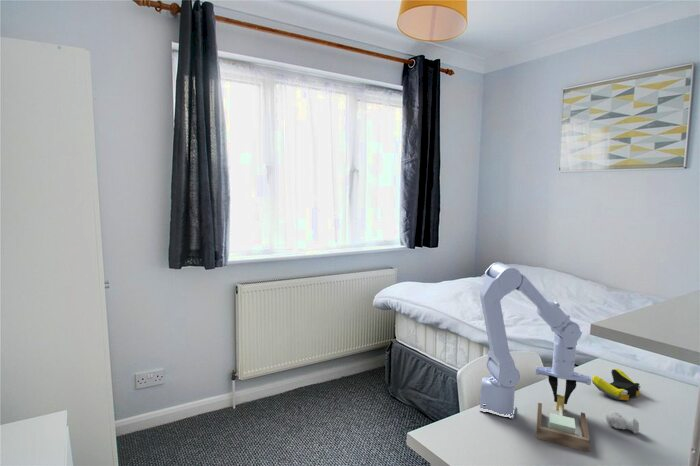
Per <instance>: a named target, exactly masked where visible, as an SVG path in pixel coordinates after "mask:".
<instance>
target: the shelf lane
mask: <svg viewBox="0 0 700 466" xmlns="http://www.w3.org/2000/svg"><path fill="white" fill-rule="evenodd" d="M542 409H543V403H541V402H537V414H536V415H537V417H536V433H535V434H536V435H535V438H536V439H539V440H541V439H542V441H545V442H549V443H552V444H553V443H554V444H557V445H561V446H565V447H568V448H572V449H576V450H580V451H583V452H584V451H585V452H590V451H589V450H590V436H589V429H588V424H587V418H586V413H585V412H580V420H579V423H580V430H581V436H580V435H576V434H575V435H573V434H569V433H565V432H561V431H557V430H553V429H549V427H546V426H542V415H543V410H542Z"/></svg>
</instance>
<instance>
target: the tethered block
mask: <svg viewBox="0 0 700 466" xmlns="http://www.w3.org/2000/svg"><path fill="white" fill-rule="evenodd" d="M564 401H565V395H563V394H560V393H559V394H558V393H557V402H555V408H556V411H558V414H555V413H552V412H550V413H549V416H548V417H549V419H548V428H549V429H553V430H557V431H561V432H565V433H569V434H573V435H576V420H575V418H574V417H569V416H564V415H563V412H565V404H564Z"/></svg>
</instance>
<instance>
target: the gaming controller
mask: <svg viewBox="0 0 700 466" xmlns="http://www.w3.org/2000/svg"><path fill="white" fill-rule="evenodd" d="M611 377H612V381H613V382H611V383H609V382H607V381H606V380H604V379H603V378H602V377H600V376H598V375H592V377H591V383H592V384H593V385H594V386H595V387H596V388H597V390H599V391H600V392H602V393H603V394H606V395H608V396H610V397H611V399H614V400H616V401H629V400H631V399H634V398H636V397H639V396H640V389H641V387H642V384H640V383H638V382H634V381H633V380H632V379H631V378H630V377H629V376H628V375H627V374H626V373H625V372H624V371H622V370H621V369H619V368H612V369H611Z"/></svg>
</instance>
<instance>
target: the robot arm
mask: <svg viewBox="0 0 700 466" xmlns="http://www.w3.org/2000/svg"><path fill="white" fill-rule="evenodd" d="M515 290H516V291H518V292H521V293H522V294H523V296H525V297H526V298H527V299H528V300H529V301H530V302H531V303H532V304H534V306H536V314H537V315H538V316H540V318H541V319H542V320H543V321H544V322H545V323H546V324H547V325H548V326H549V327H550V330H551V332H553V333H554V338H553V339H554V340H553V350H552V351H553V354H552V365H551V367H550V366H549V367H547V366H537V365H536V366H535V375H536V376H540V375H541V376H546V377H548V383H549V385H550V387H551V391H552V395H553V402H555V403H556V402H557V394H558V386H559V385H558V384H559V382H558V381H559V379H560V380H565V390H564V396H565V401H564V405H567V404H568V401H569V399H570V397H571V394H572V393H573V392H574V391H575V389H576V388H577V383H583V384H586V385H587V386H591V385H592V376H589V375H585V374H582V373H580V372H579V373H578V372H576V371H575V363H576V362H575V360H576V350H577V344H578V340H579V339H581V336H583V335H582V333H583V332H582V331H581V328H580V325H579V324H578V323H577V322H575V321H573V320H571V316H570V315H569V314H568V313H565V312H564V310H562V309H561V308H560V307H561V305H560V303H559V302H558V301H554V300H551V299H546V298H545V297H544V296H543V294H542V293H541V291H539V290H538V289H537V288H536V286H535V285H534V284H533V283H532V282H531V281H530V280H529V279H528V278H527V277H526V276H525V275H524V274H523V273H521V272H520V270H519V269H517V268H515V267H512V266H509V265H507V264H505V263H503V262H501V261H500V262H499V261H497V262H494V263H492V264H490V266H489V267H488V268H487V269H486V270H485V271H484V281H483V284H482V286H481V289H480V293H479V298H480V301H481V308H482V314H483V318H484V319H483V320H484V324H485V325H484V326H485V329H486V330H485V331H486V336H487V341H488V345H489V346H488V347H489V351H488V352H487V361H486V368H487V370H488V372H489V376H488V377H482V378H481V379H482V380H481V385H480V397H479V402H480V403H479V409H480V408H483V409H488V410H492V411H494V412H497V413H499V414H504V415H506V414H507V415H508V414H510V416H512V415H513V417H511V418H514V419H515V415H516V408H514V406H516V405H515V394H516V393H515V392H516V385H518V383H519V382H520V378H521V374H520V371H519V369H518V368H517V367H516V364H515V360H514V358H513V357H512V355H511V353H510V349H509V345H508V338H507V332H506V326H505V320H504V316H503V315H504V314H503V310H502V304H501V300H502V299H504V297H506V296H507V295H508V294H510V293H512V292H513V291H515ZM483 404H486V405H483ZM513 410H515V411H514V414H515V415H514V414H513ZM511 413H512V414H511Z"/></svg>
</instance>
